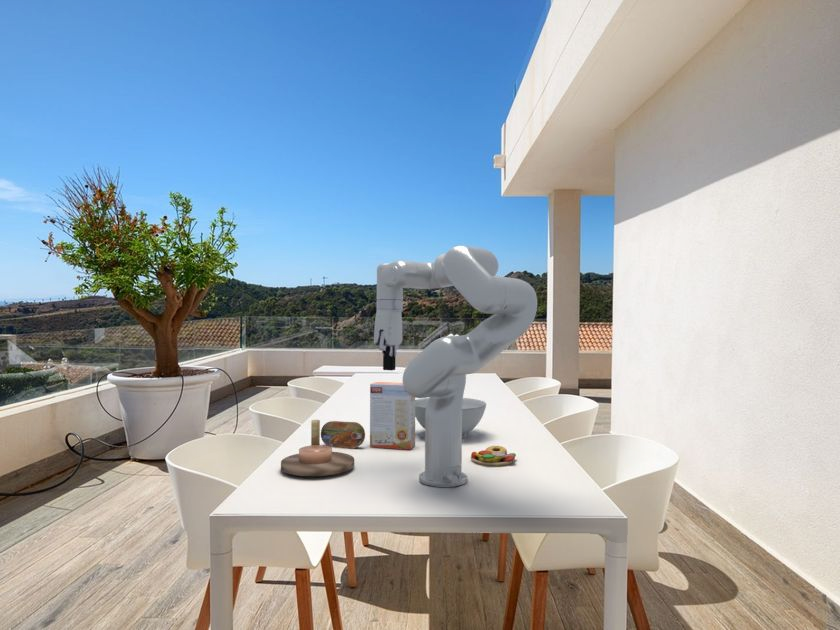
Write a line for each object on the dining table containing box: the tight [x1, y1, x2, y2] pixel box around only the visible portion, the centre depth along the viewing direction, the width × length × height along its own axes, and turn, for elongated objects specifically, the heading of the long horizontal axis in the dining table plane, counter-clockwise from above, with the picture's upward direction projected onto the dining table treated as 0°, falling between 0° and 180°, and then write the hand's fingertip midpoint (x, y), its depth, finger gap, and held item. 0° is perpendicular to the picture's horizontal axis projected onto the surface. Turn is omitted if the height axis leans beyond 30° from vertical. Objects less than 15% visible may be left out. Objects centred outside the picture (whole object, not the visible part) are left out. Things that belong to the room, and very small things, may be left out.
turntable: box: [280, 419, 355, 477], centre depth 148 cm, size 20×20×11 cm
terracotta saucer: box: [298, 444, 333, 464], centre depth 149 cm, size 9×9×3 cm
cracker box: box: [369, 381, 416, 451], centre depth 175 cm, size 14×6×21 cm, turn 75°
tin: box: [320, 420, 366, 450], centre depth 175 cm, size 15×3×8 cm, turn 72°
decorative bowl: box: [415, 397, 487, 440], centre depth 191 cm, size 27×27×12 cm
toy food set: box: [470, 445, 517, 467], centre depth 158 cm, size 13×13×3 cm
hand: (389, 369), depth 154 cm, fingers closed
